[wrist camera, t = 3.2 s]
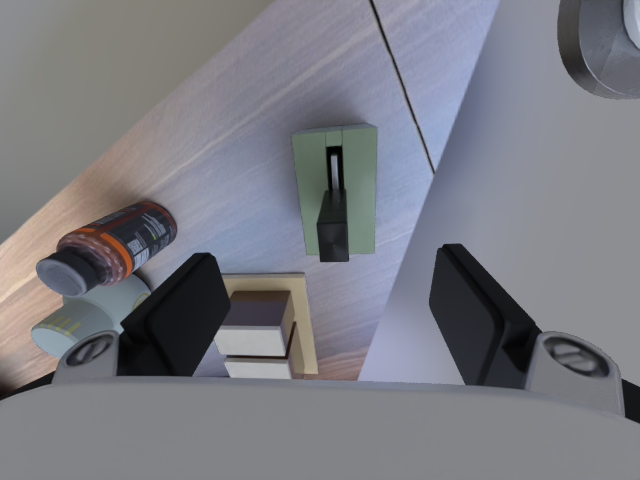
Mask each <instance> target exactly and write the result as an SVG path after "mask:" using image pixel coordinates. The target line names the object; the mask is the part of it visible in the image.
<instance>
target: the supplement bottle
mask: <svg viewBox="0 0 640 480" xmlns="http://www.w3.org/2000/svg"><path fill="white" fill-rule="evenodd" d="M176 233H177V229H176V224H175V222H174V220H173V218H172V217H171V216H170V215H169V213H168V212H167V211H166V210H164V209H163V208H161V207H160V206H158V205H156V204H153V203H150V202H139V203H136V204H133V205H130V206H128V207H126V208H123V209H121V210H119V211H117V212H115V213H112V214H110V215H108V216H105V217H103V218H101V219H99V220H97V221H94V222H92V223H90V224H88V225H86V226H83V227H81V228H79V229H77V230H74V231H72V232H70V233H68V234H66V235H65V236H63V237H62V238H61V239H60V241H59V243H58V245H57V249H56V250H57V251H56V253H53V254H51V255H50V256H48V257H46V258H44V259H42V260H40V261H39V262H38V263H37V265H36V272H37V275H38V277H39V278H40V279H41V281H42V282H43V283H44V284H45V285H46V286H48V287H49V288H50V289H52V290H53V291H55V292H57V293H59V294H62V295H65V296H68V297H79V296H82V295H84V294H85V293H87V292H88V291H90V290H91V289H93V288H95V287H96V286H110V285H114V284H116V283H118V282H120V281H122V280H123V279H124V278H126V277H127V276H128V275H130V274H131V273H132V272H133V271H135V270H136V269H137V268H139V267H140V266H141V265H143V264H144V263H145V262H147V261H148V260H149V259H150V258H152V257H153V256H154V255H156V254H157V253H158V252H160V251H161V250H162V249H164V248H165V247H166V246H168V245H169V244H170V243H171V242H172V241H173V240H174V239H175V237H176Z"/></svg>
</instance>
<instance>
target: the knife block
mask: <svg viewBox="0 0 640 480" xmlns="http://www.w3.org/2000/svg"><path fill="white" fill-rule="evenodd" d="M377 128H378V127H376V126H374V125H371V124H368V123H366V124H355V125H344V126H333V127H323V128H312V129H305V130H302V131H299V132H297V133H294V134H291V141H292V149H293V156H294V164H295V171H296V179H297V186H298V194H299V201H300V209H301V216H302V224H303V231H304V239H305V247H306V254H307V255H319V247H318V237H317V227H316V223H317V219H318V215H319V211H320V208H321V204H322V200H323V196H324V192H325V190H333V182H332V166H331V155H332V152H333V149H334V146H339V158H340V179H341V189H346V190H347V211H348V243H349V254H374V249H375V209H376V169H377Z"/></svg>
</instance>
